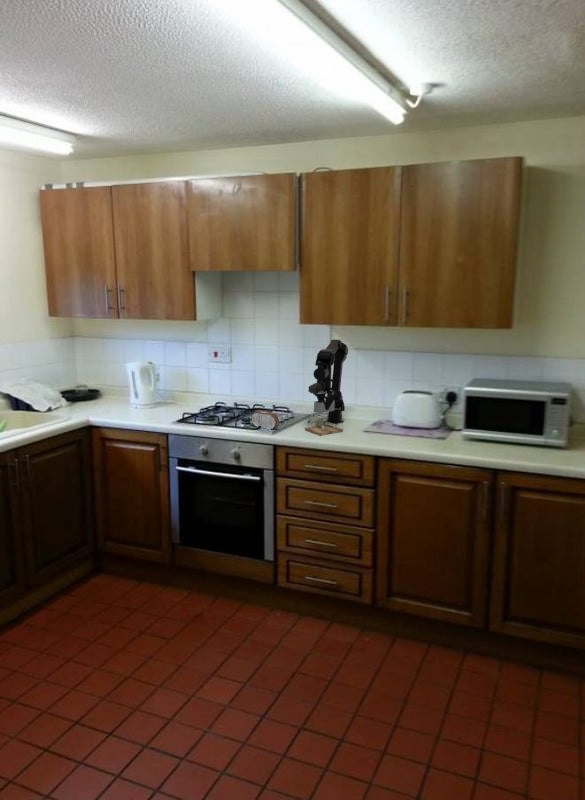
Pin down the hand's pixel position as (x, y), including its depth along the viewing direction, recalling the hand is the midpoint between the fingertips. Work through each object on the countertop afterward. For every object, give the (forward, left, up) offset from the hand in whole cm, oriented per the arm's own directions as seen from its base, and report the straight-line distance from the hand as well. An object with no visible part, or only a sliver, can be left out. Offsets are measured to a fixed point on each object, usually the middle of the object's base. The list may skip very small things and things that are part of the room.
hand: (324, 409), depth 308 cm
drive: (0, 0, -1) cm, 1 cm away
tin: (+21, -20, -11) cm, 31 cm away
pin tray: (0, 0, -11) cm, 11 cm away
